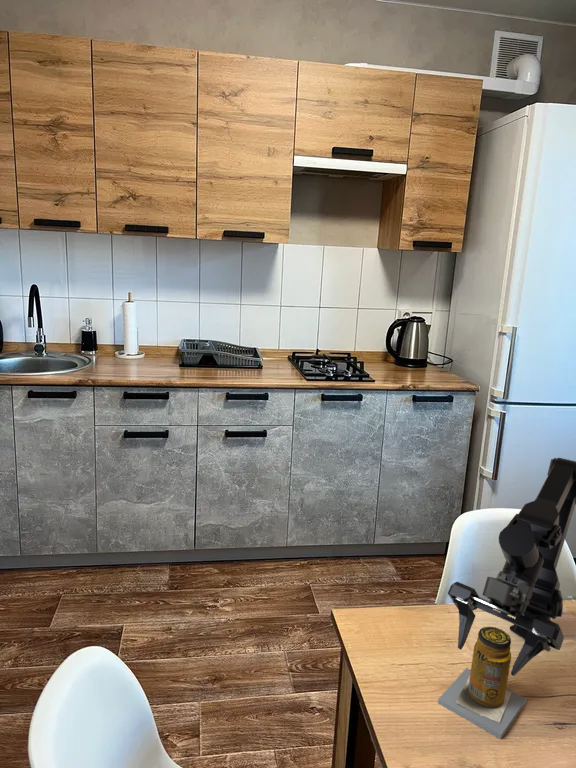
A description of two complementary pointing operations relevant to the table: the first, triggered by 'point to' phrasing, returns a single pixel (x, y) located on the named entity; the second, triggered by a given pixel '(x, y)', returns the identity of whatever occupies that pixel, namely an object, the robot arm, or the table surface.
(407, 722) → the table surface
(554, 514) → the robot arm
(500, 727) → the coaster board
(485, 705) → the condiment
